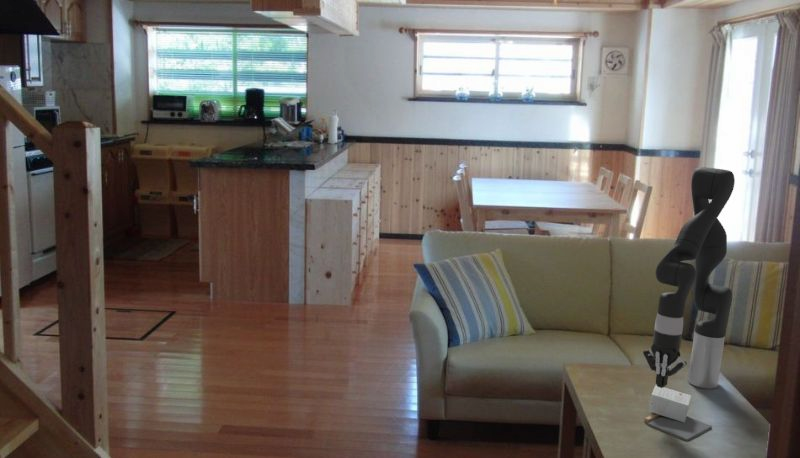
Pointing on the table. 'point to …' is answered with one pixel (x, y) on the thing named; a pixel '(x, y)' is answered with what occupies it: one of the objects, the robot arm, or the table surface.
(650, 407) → the small box
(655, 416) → the oak ledge
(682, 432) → the rubber mat
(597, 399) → the table surface
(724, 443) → the table surface
